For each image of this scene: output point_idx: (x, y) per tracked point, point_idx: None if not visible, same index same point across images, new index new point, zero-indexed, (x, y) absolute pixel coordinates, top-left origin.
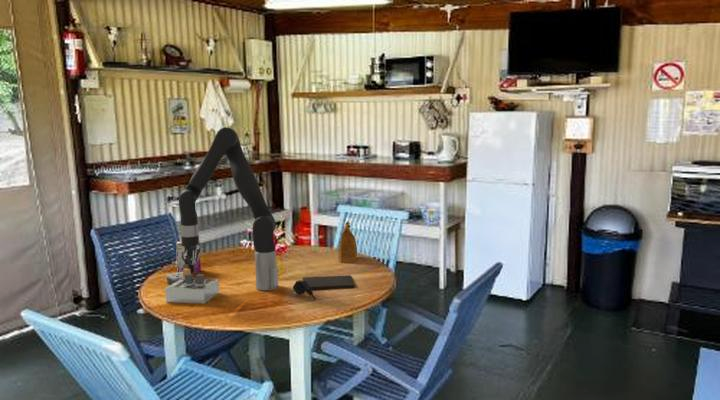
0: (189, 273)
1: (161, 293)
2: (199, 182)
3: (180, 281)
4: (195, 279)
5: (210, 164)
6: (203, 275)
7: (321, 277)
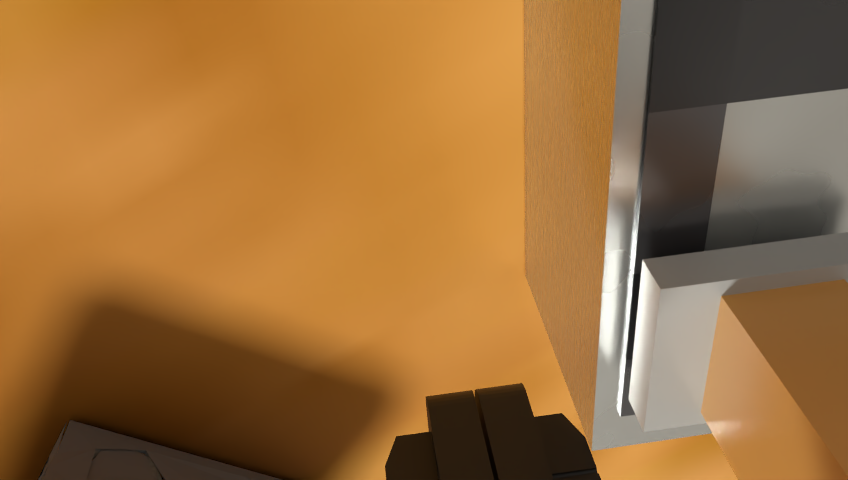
0: (843, 362)
1: (646, 454)
2: None
3: None
4: (709, 135)
5: None
6: None
7: None
